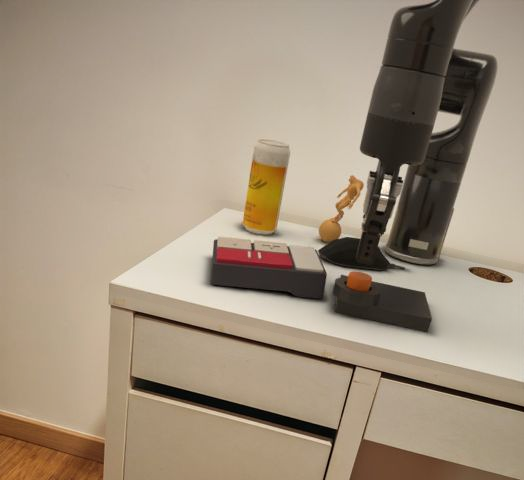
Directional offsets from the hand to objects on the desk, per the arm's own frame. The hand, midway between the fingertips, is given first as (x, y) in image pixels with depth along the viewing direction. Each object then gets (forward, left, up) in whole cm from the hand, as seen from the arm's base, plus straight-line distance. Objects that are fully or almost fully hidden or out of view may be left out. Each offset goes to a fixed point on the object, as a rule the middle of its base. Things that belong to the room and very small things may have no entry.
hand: (364, 262), depth 73 cm
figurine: (-22, -23, -7) cm, 33 cm away
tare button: (0, 0, -4) cm, 4 cm away
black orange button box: (-5, +1, -7) cm, 8 cm away
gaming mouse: (-18, -13, -7) cm, 23 cm away
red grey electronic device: (+4, -13, -7) cm, 15 cm away
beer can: (-12, -32, -7) cm, 35 cm away
